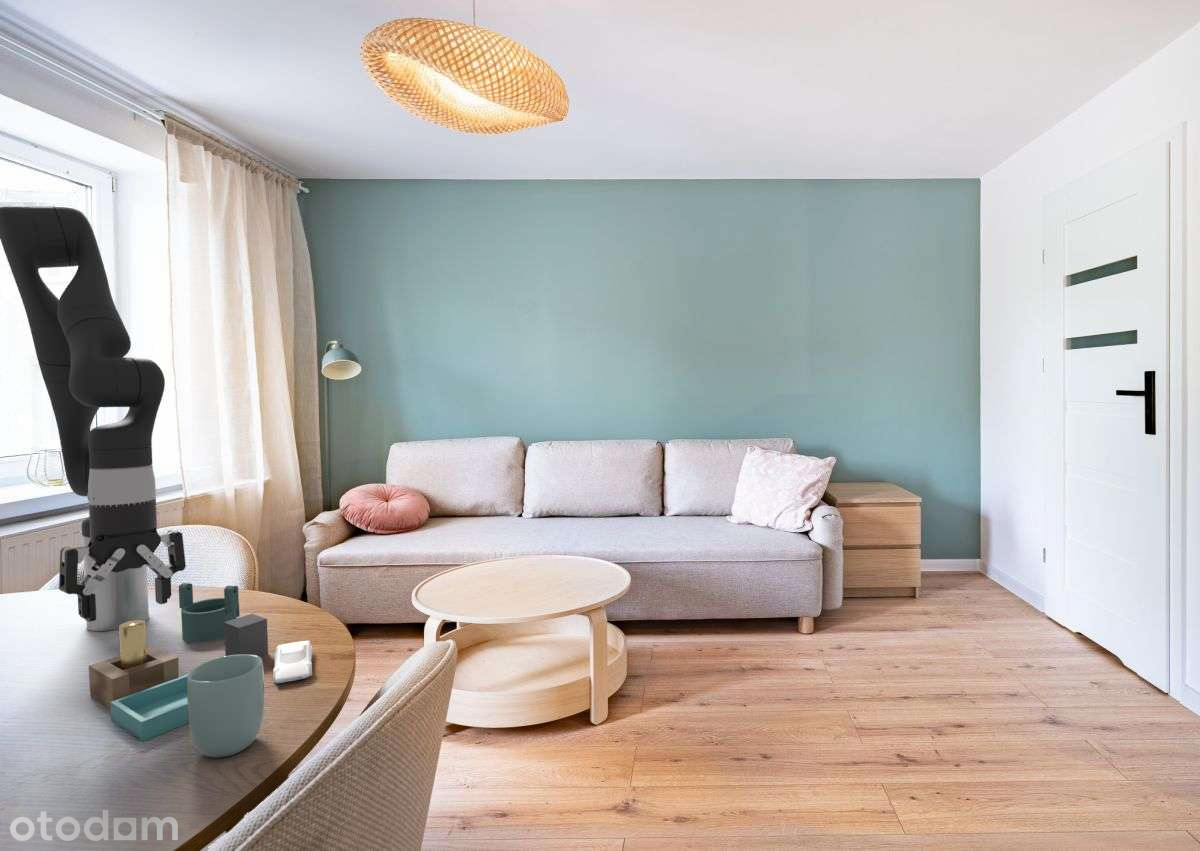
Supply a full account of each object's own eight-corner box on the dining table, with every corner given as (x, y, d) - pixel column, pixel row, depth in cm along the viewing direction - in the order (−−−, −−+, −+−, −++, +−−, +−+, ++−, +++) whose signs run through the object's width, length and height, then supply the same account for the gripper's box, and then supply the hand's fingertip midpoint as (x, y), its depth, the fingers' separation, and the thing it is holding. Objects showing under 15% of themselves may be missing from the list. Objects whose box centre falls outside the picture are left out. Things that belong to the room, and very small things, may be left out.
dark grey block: (240, 664, 97) (238, 627, 97) (225, 658, 100) (224, 622, 99) (268, 654, 101) (266, 618, 101) (253, 648, 103) (252, 613, 103)
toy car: (271, 691, 89) (270, 668, 89) (275, 659, 100) (274, 638, 100) (313, 683, 92) (312, 661, 91) (312, 652, 102) (311, 633, 102)
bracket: (239, 636, 109) (238, 586, 108) (177, 647, 104) (175, 595, 104) (239, 620, 116) (238, 574, 116) (181, 629, 112) (179, 581, 111)
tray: (111, 720, 81) (110, 701, 81) (210, 683, 91) (209, 666, 91) (142, 741, 76) (141, 722, 76) (243, 699, 86) (242, 682, 86)
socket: (90, 695, 87) (88, 665, 87) (154, 673, 94) (153, 645, 94) (113, 711, 83) (112, 679, 83) (179, 687, 90) (178, 657, 90)
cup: (212, 731, 78) (209, 654, 78) (276, 728, 79) (273, 652, 78) (176, 768, 70) (172, 684, 70) (246, 765, 71) (243, 681, 71)
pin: (118, 693, 88) (115, 625, 88) (142, 684, 91) (139, 618, 90) (127, 698, 86) (124, 629, 86) (152, 690, 89) (149, 622, 88)
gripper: (68, 508, 79) (74, 632, 79) (191, 493, 91) (194, 601, 91) (48, 503, 83) (53, 621, 83) (168, 490, 95) (171, 593, 95)
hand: (127, 611), depth 87 cm, fingers open, 8 cm apart
